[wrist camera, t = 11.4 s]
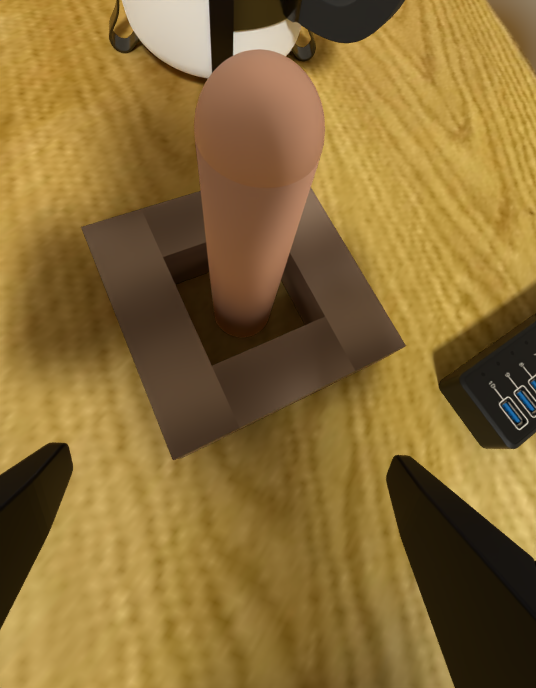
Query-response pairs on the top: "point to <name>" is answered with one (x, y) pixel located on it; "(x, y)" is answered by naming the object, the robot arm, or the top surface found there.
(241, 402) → the brown square frame
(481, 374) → the multiport hub
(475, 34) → the top surface
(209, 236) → the terracotta dowel
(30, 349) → the top surface
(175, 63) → the coffee press
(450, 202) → the top surface
